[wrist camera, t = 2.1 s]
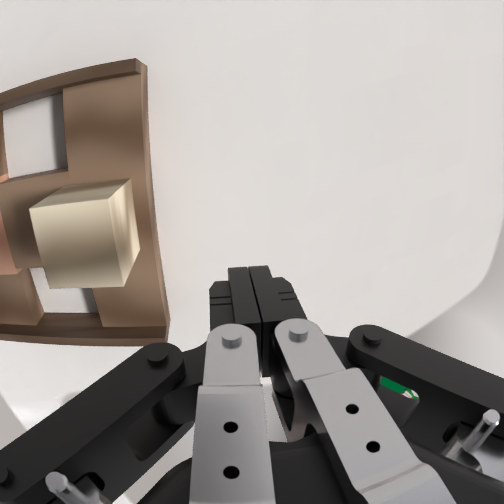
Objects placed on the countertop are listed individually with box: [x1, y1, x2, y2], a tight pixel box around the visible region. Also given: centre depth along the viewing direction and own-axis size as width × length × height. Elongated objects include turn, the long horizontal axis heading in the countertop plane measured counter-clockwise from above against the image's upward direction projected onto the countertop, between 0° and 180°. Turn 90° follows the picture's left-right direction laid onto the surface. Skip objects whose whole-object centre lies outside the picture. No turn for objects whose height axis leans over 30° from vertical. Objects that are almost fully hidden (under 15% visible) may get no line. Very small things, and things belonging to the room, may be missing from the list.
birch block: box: [29, 178, 140, 289], centre depth 17 cm, size 5×5×5 cm
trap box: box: [0, 58, 170, 346], centre depth 19 cm, size 20×18×4 cm
